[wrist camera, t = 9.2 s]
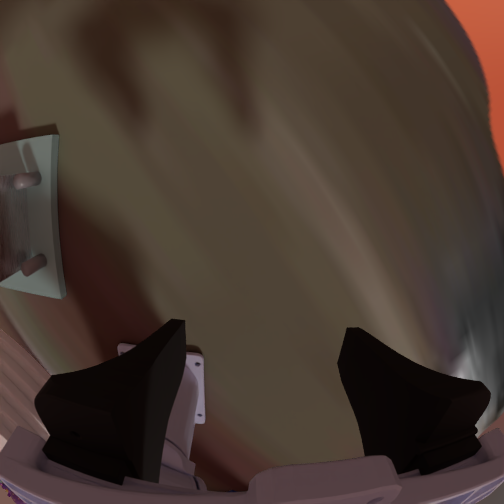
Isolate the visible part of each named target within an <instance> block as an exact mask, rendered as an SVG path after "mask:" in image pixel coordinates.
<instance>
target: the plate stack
mask: <svg viewBox="0 0 504 504" xmlns="http://www.w3.org/2000/svg"><path fill="white" fill-rule="evenodd" d="M50 377H51V376H50V375H49V373H48V372H47V371H46V370H45V369H44V368H43V367H42V366H41V365H40V364H39V363H38V362H37V361H36V360H35V359H34V358H33V357H32V356H31V355H30V354H29V353H28V352H27V351H26V350H25V349H24V348H23V347H22V346H21V345H20V344H18V343H17V342H16V341H15V340H14V339H13V338H11V337H10V336H9V335H8V334H6V333H5V332H4V331H3V330H1V329H0V452H1V450H2V449H3V447H4V446H5V444H6V442H7V441H8V439H9V438H10V436H11V435H12V433H13V432H14V430H15V429H16V427H17V426H20V427H22V428H24V429H26V430H29V431H31V432H33V433H35V434H37V435H39V436H40V437H42V438H43V439H44V440H45V441H46V442H47V440H48V438H49V436H50V435H49V433H48V431H47V429H46V428H45V426H44V424H43V423H42V421H41V419H40V417H39V415H38V413H37V411H36V409H35V405H34V399H35V397H36V395H37V394H38V392H39V391H40V390H41V388H42V387H43V386H44V384H45V383H46V382H47V380H48V379H49V378H50Z"/></svg>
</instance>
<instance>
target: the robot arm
mask: <svg viewBox="0 0 504 504" xmlns="http://www.w3.org/2000/svg"><path fill="white" fill-rule="evenodd" d="M117 349H118V354H119V356H118V357H116V358H113V359H111V360H109V361H106V362H104V363H101V364H99V365H96V366H93V367H90V368H87V369H83V370H79V371H75V372H70V373H64V374H57V375H51V377H50V378H49V379H48V380H47V382H46V383H45V384H44V386H43V387H42V388H41V390H40V391H39V392H38V394H37V395H36V397H35V399H34V405H35V409H36V411H37V413H38V415H39V417H40V419H41V421H42V423H43V424H44V426H45V428H46V429H47V431H48V433H49V435H50V436H49V438H48V440H47V442H46V441H45V440H44V439H43V438H42V437H40V436H39V435H37V434H35V433H33V432H31V431H29V430H26V429H24V428H22V427H20V426H17V427H16V429H15V430H14V432H13V433H12V435H11V436H10V438H9V439H8V441H7V442H6V444H5V446H4V447H3V449H2V450H1V452H0V480H1V481H2V482H3V483H4V484H5V485H6V486H7V487H8V488H9V489H10V490H11V491H12V492H14V493H15V494H16V495H17V496H18V497H19V498H20V499H21V500H22V501H23V502H25V503H27V504H475V503H477V502H478V501H480V500H482V499H483V498H485V497H487V496H488V495H489V494H491V493H492V492H493V491H494V490H495V489H496V488H497V487H498V486H499V485H501V484H502V482H504V434H503V433H502V432H501V430H500V429H499V428H496V429H494V430H492V431H490V432H488V433H486V434H484V435H482V436H481V437H480V438H479V439H477V437H476V436H475V434H476V433H477V432H478V430H477V428H476V427H475V424H476V423H477V421H478V420H479V418H480V417H481V416H482V414H483V413H484V411H485V409H486V408H487V406H488V404H489V401H490V398H491V393H490V391H489V390H488V389H487V387H486V386H485V385H484V384H483V383H482V382H481V381H474V380H467V379H461V378H457V377H453V376H449V375H446V374H442V373H439V372H436V371H434V370H431V369H428V368H426V367H424V366H422V365H419V364H417V363H415V362H413V361H411V360H409V359H407V358H406V357H404V356H402V355H401V354H399V353H397V352H396V351H394V350H393V349H391V348H390V347H388V346H387V345H385V344H384V343H382V342H381V341H379V340H378V339H376V338H375V337H373V336H372V335H371V334H369V333H367V332H366V331H364V330H363V329H361V328H359V327H357V328H347V329H346V333H345V337H344V341H343V345H342V348H341V352H340V355H339V359H338V362H337V364H338V368H339V373H340V377H341V381H342V384H343V386H344V389H345V391H346V394H347V396H348V399H349V401H350V404H351V406H352V409H353V411H354V414H355V416H356V419H357V422H358V426H359V430H360V434H361V438H362V443H363V449H364V454H365V456H364V457H358V458H352V459H345V460H338V461H329V462H320V463H308V464H291V465H285V466H278V467H272V468H270V469H267V470H265V471H262V472H260V473H258V474H256V475H255V477H254V478H253V479H252V480H251V481H250V482H249V488H248V491H243V492H216V491H207V488H206V485H205V483H204V481H203V480H202V479H201V478H199V477H198V476H194V472H195V463H194V462H192V461H190V460H189V456H190V450H191V444H192V438H193V432H194V426H195V423H199V424H203V423H205V394H204V357H203V355H201V354H199V353H192V352H186V334H185V320H178V319H171V320H169V321H168V322H167V323H166V324H164V325H163V326H162V327H161V328H159V329H158V330H157V331H156V332H154V333H153V334H152V335H151V336H149V337H148V338H147V339H145V340H144V341H142V342H141V343H139V344H138V345H132V344H126V343H120V344H119V345H118V347H117ZM123 352H124V353H123ZM196 362H199V363H200V364H197V363H196Z"/></svg>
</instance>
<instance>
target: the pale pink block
mask: <svg viewBox="0 0 504 504" xmlns="http://www.w3.org/2000/svg"><path fill="white" fill-rule="evenodd" d="M26 173H27V172H26ZM17 174H20V173H17ZM15 175H16V174H9V175H1V176H0V282H2V281H4V280H5V279H7V278H9V277H10V276H12V275H14V274H15V273H17V272H19V271H20V270H21V264H22V263H23V262H25V261H27V260H29V259H31V258H32V253H31V244H30V235H29V224H28V208H27V188H23V189H16V188H15V187H14V184H13V180H14V177H15Z"/></svg>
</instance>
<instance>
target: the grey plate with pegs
mask: <svg viewBox="0 0 504 504" xmlns="http://www.w3.org/2000/svg"><path fill="white" fill-rule="evenodd" d="M58 145H59V135H53V134H52V135H46V136H40V137H34V138H29V139H24V140H19V141H14V142H10V143H5V144H1V145H0V176H1V175H9V174H16V175H15V177H14V180H13V184H14V187H15V188H16V189H23V188H27V208H28V224H29V235H30V244H31V253H32V258H31V259H29V260H27V261H25V262H23V263H22V264H21V270H20V271H19V272H17V273H15V274H14V275H12V276H10V277H9V278H7V279H5V280H4V281H2V282H0V286H1V287H5V288H10V289H14V290H18V291H23V292H27V293H32V294H37V295H42V296H47V297H52V298H57V299H62V298H64V297H65V296H66V295H67V293H66V287H65V280H64V273H63V266H62V258H61V248H60V238H59V224H58V202H57V166H58ZM26 172H27V173H26ZM17 173H20V174H17Z"/></svg>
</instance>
